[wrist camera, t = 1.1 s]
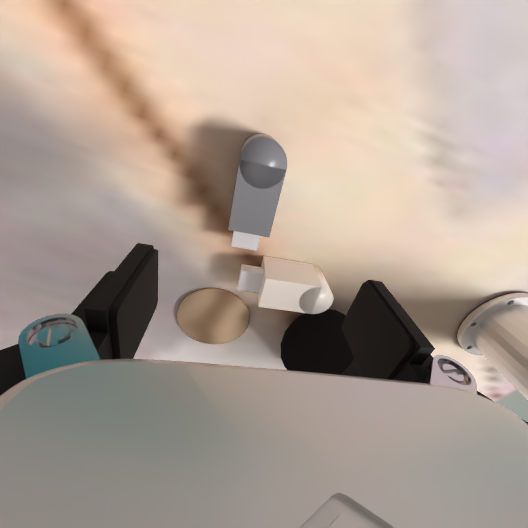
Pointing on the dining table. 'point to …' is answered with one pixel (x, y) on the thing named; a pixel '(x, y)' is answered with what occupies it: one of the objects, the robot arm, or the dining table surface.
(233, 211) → the grey plug
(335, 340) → the black capped bottle
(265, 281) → the cream plug
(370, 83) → the dining table surface
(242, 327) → the cork coaster
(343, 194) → the dining table surface
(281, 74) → the dining table surface
